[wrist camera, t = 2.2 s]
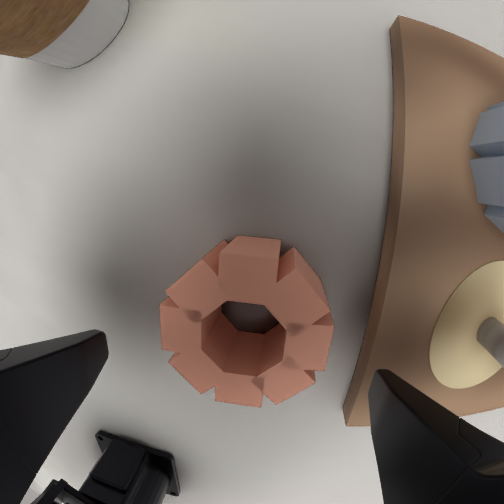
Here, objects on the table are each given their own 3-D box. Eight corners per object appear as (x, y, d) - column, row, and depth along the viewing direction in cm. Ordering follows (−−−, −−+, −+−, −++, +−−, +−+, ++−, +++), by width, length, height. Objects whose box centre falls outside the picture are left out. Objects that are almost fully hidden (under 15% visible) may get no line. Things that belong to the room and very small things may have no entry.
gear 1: (310, 366, 14) (313, 411, 11) (189, 350, 15) (165, 390, 11) (330, 244, 13) (345, 265, 9) (190, 231, 13) (158, 246, 10)
